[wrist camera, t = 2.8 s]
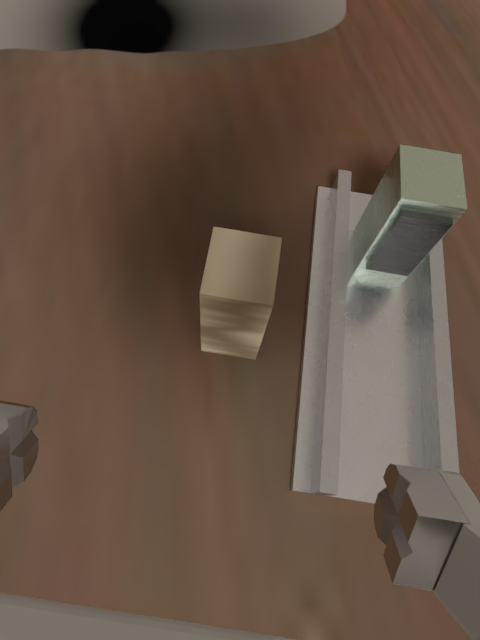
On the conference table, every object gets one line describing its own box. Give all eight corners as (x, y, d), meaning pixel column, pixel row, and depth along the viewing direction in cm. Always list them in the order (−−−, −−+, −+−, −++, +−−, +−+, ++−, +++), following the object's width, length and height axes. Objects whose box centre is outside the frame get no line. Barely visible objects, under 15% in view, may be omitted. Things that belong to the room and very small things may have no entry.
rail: (290, 490, 30) (331, 482, 20) (315, 193, 42) (350, 93, 32) (452, 516, 30) (575, 521, 20) (433, 212, 42) (504, 119, 32)
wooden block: (201, 350, 34) (199, 293, 25) (212, 291, 36) (215, 219, 27) (255, 359, 34) (273, 305, 25) (263, 299, 36) (282, 230, 27)
